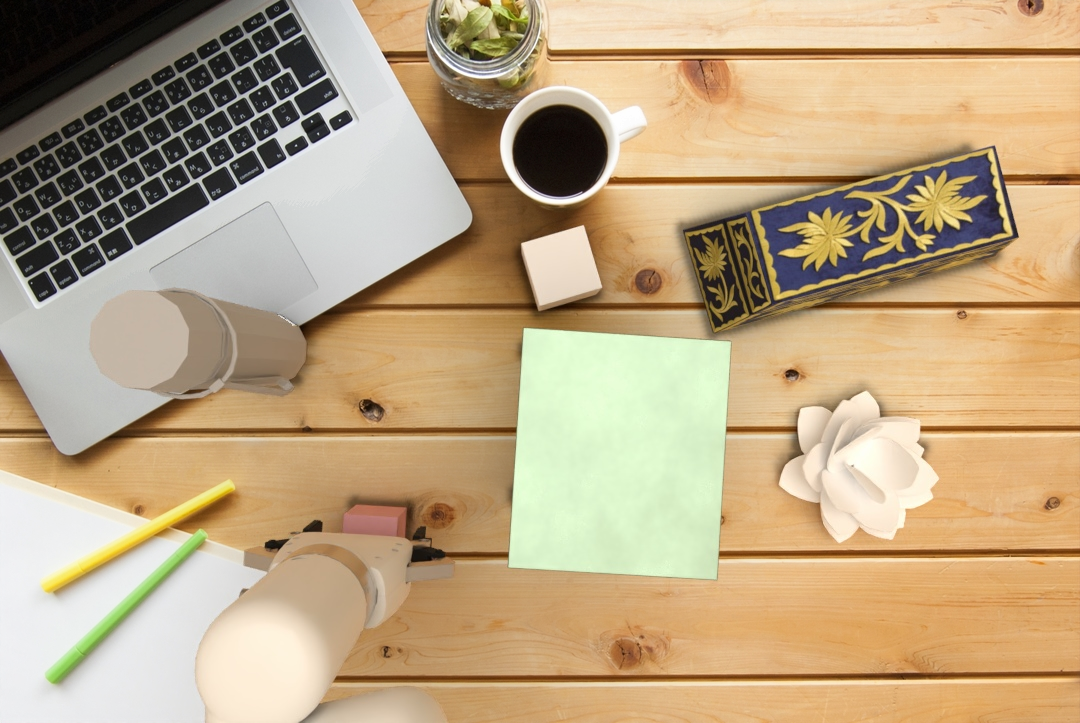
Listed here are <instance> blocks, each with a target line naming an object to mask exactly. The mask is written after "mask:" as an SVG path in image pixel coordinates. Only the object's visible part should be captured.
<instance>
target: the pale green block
mask: <svg viewBox="0 0 1080 723" xmlns="http://www.w3.org/2000/svg"><path fill="white" fill-rule="evenodd" d="M732 344H733V343H732V340H728V339H727V340H725V339H709V338H696V337H695V338H694V337H682V336H681V337H680V336H679V337H678V336H664V335H663V336H662V335H651V334H650V335H649V334H633V333H618V332H603V331H587V330H571V329H557V328H543V327H541V328H539V327H526V326H525V327H523V328H522V337H521V351H520V354H521V355H520V367H519V369H520V370H519V384H518V399H517V415H516V416H517V417H516V429H515V443H514V444H515V445H514V446H515V447H514V448H515V449H514V462H513V478H512V490H511V492H512V494H511V507H510V508H511V509H510V524H509V539H508V555H507V569H517V570H531V571H532V570H535V571H550V572H567V573H586V574H600V575H601V574H602V575H618V576H634V577H650V578H652V577H653V578H667V579H685V580H699V581H700V580H701V581H718V578H719V564H720V546H721V544H720V543H721V530H722V528H721V526H722V515H723V514H722V513H723V497H724V496H723V495H724V494H723V493H724V480H725V463H726V462H725V461H726V446H727V444H726V443H727V442H726V441H727V431H728V430H727V427H728V410H729V396H730V394H729V393H730V379H731V378H730V377H731V363H732V362H731V359H732V358H731V357H732V346H733V345H732Z"/></svg>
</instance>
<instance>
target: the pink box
mask: <svg viewBox="0 0 1080 723" xmlns="http://www.w3.org/2000/svg"><path fill="white" fill-rule="evenodd" d="M407 511H408V507H406V506H405V507H404V506H389V505H371V504H370V505H369V504H355V505H354V506H352V507H351V508H349V510H347V511H346V512H345V513H343V517H342V532H341V533H348V534H365V535H381V536H394V537H402V538H406V529H407V528H406V526H407V513H408V512H407Z"/></svg>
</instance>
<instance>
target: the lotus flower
mask: <svg viewBox="0 0 1080 723" xmlns="http://www.w3.org/2000/svg"><path fill="white" fill-rule="evenodd" d="M880 412H881V411H880V406H879V404H878V403H877V400H876V399H875V398H874V397H873V396H872V394H870V392H869V391H868V390H863V391H861V392H860V393H857V394H855V395H854V396H852V397H851V398H849V399H842V400H841V401H840V402H839V404H838V405H837V406H836V408H834V411H833V412H832V411H831V410H829V409H828V408H826V407H824V406H817V405H816V406H815V405H811V406H805V407H801V408H800V409H799V413H798V418H797V438H798V443H799V447H800V450H801V452H802V453H803V454H801V455H799V456H796V457H794V458H792V459H790V460H789V461H788V462H787V463H785V464H784V467H783V468H782V471H781V473H780V477H779V481H778V486H779V487H780V488H781V489H783V491H785V492H786V493H788V494H789V495H791V496H793V497H796V498H798V499H801V500H803V501H807V502H810V503H815V504H818V503H819V505H820V516H821V520H822V524H823V527H824V528H825V530H826V531H827V532H828V534H829V536H831V537H832V538H833V539H834V540H835V541H836V542H837V543H838V544H840V543H843V542H845V541H847V540H848V539H850V538H851V537H852V536H853V535H854V534H855V533H857V531H858V529H859V528H860V529H861V530H863V531H864V532H865V533H866V534H868V535H870V536H873V537H876V538H879V539H883V540H884V539H885V540H889V541H892V540H894V537H895V535H896V533H897V531H898V529H904V527H905V522H906V515H907V514H906V509H909V510H910V509H912V510H913V509H915V508H917V507H920V506H923V505H925V504H927V503H928V502H930V501H931V500H933V499H934V495H933V492H932V490H931V489H932V488H933V487H934V486H935V485H936V484H937V483H938V482H939V481H940V477H939V475H938V474H937V473H936V471H935V470H934V468H933V467H932V465H930V463H928V462H927V461H926V460H925V459H924V458H923V457H922V456H923V454H924V452H925V448H924V447H923V446H921V445H920V444H919V443H918V441H920V436H921V420H920V419H918V418H913V417H910V416H906V415H905V416H900V415H899V416H898V415H897V416H896V415H893V416H881V413H880Z"/></svg>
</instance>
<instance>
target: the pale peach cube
mask: <svg viewBox="0 0 1080 723" xmlns="http://www.w3.org/2000/svg"><path fill="white" fill-rule="evenodd" d="M520 248H521V257H522V260H523V264H524V266H525V270H526V274H527V277H528V281H529V284H530V287H531V290H532V293H533V298H534V300H535V304H536V308H537V310H538V312H542V311H545V310H549V309H551V308H552V309H553V308H556V307H560V306H563V305H565V304H569V303H573V302H577V301H580V300H582V299H586V298H589V297H593V296H596V295H597V294H599V292H600V291H601V290H602V289H603V285H602V282H601V278H600V275H599V272H598V268H597V265H596V262H595V258H594V255H593V252H592V248H591V244H590V241H589V238H588V234H587V231H586V227H585V225H584V224H583V225H579V226H576V227H573V228H569V229H566V230H562V231H559V232H555V233H551V234H547V235H544V236H542V237H538V238H534V239H531V240H528V241H525V242H521V243H520Z"/></svg>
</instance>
